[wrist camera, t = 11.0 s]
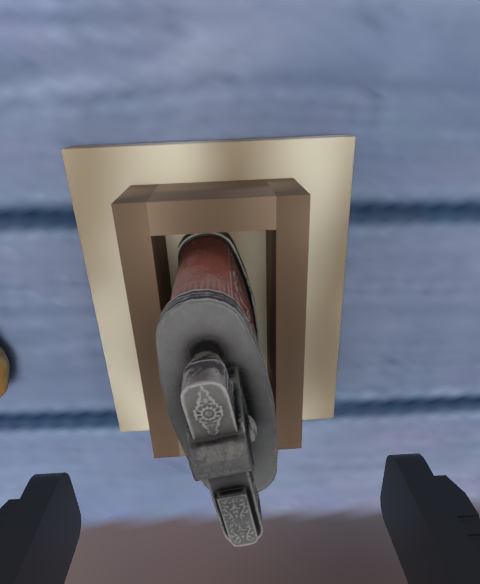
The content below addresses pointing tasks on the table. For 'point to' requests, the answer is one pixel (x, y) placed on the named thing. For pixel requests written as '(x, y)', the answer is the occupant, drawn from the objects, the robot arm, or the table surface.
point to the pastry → (4, 371)
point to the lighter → (219, 381)
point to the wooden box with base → (250, 244)
